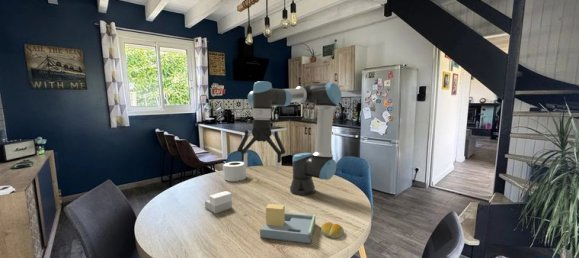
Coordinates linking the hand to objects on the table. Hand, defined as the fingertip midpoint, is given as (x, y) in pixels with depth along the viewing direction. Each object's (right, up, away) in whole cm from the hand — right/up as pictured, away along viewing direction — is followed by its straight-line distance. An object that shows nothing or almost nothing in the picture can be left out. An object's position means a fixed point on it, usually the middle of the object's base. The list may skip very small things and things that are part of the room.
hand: (261, 169), depth 103 cm
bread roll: (+30, -26, -3) cm, 40 cm away
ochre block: (+6, -23, 0) cm, 24 cm away
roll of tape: (-27, -19, +73) cm, 80 cm away
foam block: (-28, -25, +22) cm, 43 cm away
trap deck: (+12, -26, -1) cm, 28 cm away
